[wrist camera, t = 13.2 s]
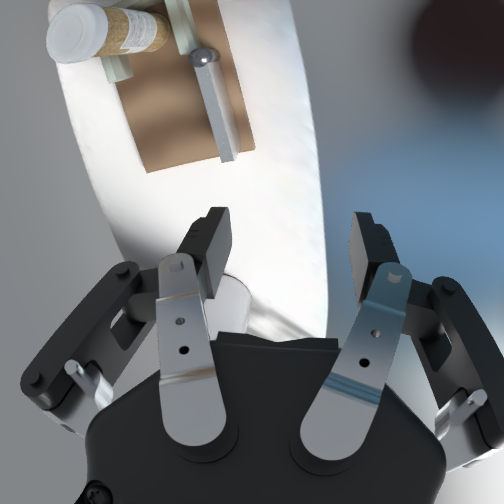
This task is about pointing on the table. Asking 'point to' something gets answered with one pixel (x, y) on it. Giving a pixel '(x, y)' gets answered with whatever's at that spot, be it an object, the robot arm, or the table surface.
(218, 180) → the table surface
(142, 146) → the cradle board
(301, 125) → the table surface
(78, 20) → the tan spice jar
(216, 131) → the bar
